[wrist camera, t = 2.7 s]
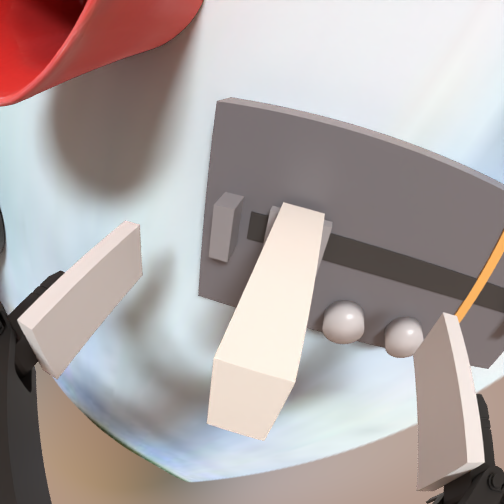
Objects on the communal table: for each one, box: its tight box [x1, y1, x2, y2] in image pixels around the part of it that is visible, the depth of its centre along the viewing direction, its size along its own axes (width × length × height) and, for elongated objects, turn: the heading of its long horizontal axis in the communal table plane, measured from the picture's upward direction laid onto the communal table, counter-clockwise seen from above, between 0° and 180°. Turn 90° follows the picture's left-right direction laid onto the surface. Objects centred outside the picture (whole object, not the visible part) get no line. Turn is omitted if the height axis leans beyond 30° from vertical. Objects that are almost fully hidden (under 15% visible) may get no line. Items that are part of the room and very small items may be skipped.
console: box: [198, 97, 504, 369], centre depth 16 cm, size 22×12×4 cm, turn 81°
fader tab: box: [207, 202, 333, 441], centre depth 12 cm, size 3×4×10 cm
